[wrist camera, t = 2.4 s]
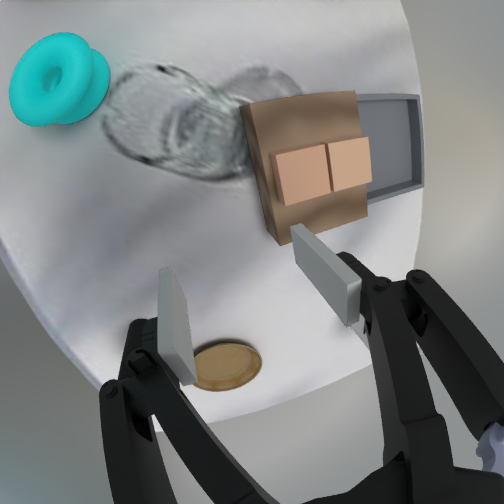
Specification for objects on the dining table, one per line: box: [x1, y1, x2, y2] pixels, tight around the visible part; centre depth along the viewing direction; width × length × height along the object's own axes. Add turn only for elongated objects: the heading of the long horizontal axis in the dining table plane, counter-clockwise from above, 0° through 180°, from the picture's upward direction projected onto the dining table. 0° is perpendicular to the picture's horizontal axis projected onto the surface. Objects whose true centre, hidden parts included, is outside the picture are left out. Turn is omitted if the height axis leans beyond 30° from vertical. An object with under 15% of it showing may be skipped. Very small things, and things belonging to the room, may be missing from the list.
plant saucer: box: [193, 343, 262, 392], centre depth 49 cm, size 15×15×3 cm
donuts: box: [9, 33, 110, 127], centre depth 19 cm, size 10×10×10 cm
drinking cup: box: [118, 319, 147, 383], centre depth 33 cm, size 8×8×20 cm
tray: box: [356, 94, 424, 205], centre depth 36 cm, size 17×15×3 cm
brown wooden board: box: [239, 91, 368, 246], centre depth 33 cm, size 18×14×5 cm
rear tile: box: [320, 135, 372, 192], centre depth 31 cm, size 6×6×2 cm
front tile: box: [270, 143, 331, 206], centre depth 30 cm, size 6×6×2 cm
